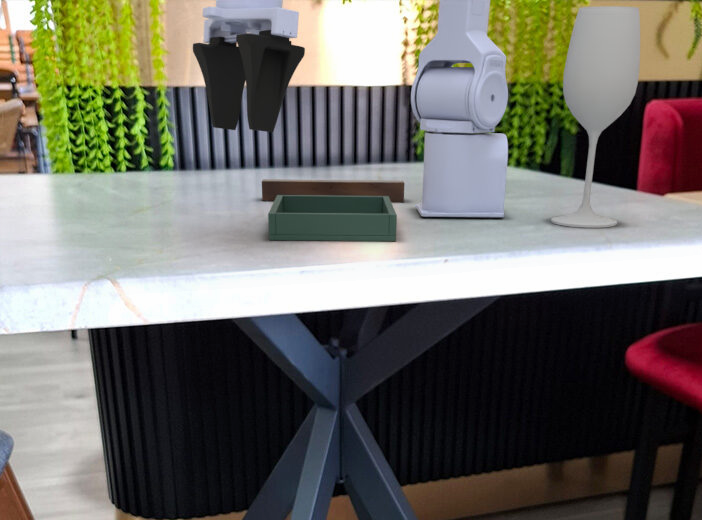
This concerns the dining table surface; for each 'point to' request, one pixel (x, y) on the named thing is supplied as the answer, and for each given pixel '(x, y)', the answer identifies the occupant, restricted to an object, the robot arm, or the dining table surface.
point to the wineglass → (600, 84)
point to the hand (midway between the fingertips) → (242, 129)
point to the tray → (332, 218)
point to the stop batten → (333, 188)
